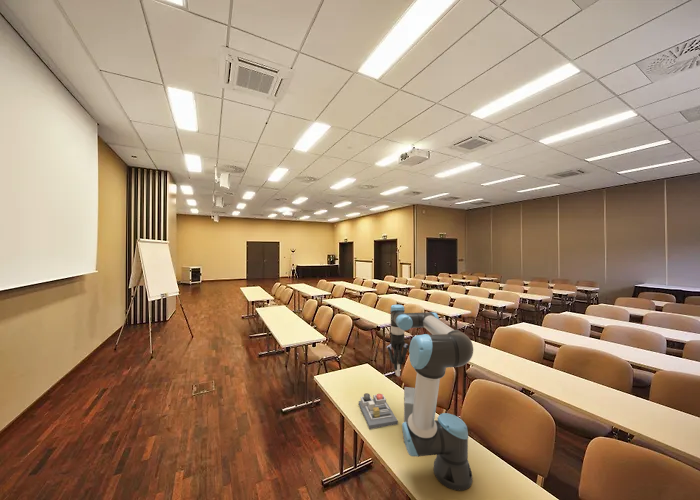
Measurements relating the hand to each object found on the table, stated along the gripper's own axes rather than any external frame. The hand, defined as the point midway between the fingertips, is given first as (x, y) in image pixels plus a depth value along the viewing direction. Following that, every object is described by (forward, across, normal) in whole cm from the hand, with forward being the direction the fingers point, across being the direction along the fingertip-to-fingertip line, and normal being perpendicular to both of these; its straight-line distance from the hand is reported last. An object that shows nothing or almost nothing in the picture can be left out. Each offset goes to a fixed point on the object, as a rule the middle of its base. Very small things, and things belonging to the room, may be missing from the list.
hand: (397, 375), depth 147 cm
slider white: (+22, +13, -8) cm, 26 cm away
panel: (+24, +10, -6) cm, 27 cm away
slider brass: (+22, +12, -2) cm, 25 cm away
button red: (+21, +6, -13) cm, 25 cm away
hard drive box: (+24, -1, +13) cm, 28 cm away
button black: (+20, +14, -14) cm, 27 cm away
